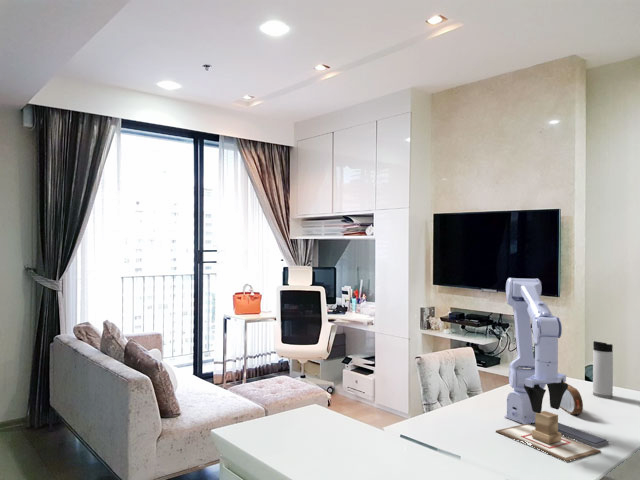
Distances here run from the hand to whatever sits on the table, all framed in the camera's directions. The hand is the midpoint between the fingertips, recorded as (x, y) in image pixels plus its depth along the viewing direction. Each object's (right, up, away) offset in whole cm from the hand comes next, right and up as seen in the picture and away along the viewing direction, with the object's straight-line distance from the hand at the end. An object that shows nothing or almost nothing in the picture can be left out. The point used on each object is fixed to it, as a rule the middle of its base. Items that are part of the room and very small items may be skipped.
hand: (545, 410), depth 131 cm
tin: (+20, -10, +27) cm, 35 cm away
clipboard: (0, -9, 0) cm, 9 cm away
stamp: (0, -8, 0) cm, 8 cm away
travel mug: (+42, -11, +45) cm, 63 cm away
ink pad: (+10, -9, +5) cm, 14 cm away
